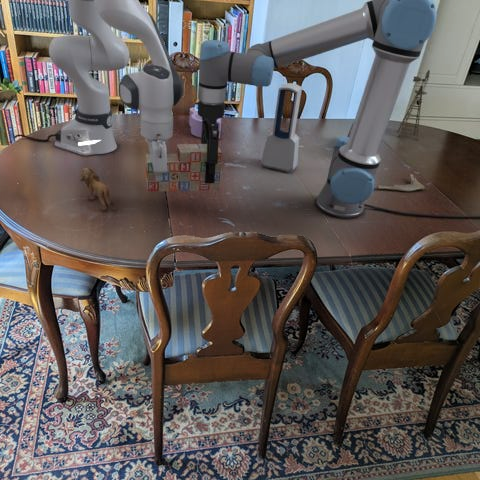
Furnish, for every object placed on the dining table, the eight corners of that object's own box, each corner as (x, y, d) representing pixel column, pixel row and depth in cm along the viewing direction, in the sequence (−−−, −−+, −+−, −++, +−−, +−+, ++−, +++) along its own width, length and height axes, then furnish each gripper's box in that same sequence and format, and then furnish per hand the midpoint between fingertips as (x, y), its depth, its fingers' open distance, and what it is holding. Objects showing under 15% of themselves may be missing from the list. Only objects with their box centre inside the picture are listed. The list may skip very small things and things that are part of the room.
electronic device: (296, 166, 177) (310, 86, 161) (292, 174, 171) (306, 91, 154) (265, 160, 180) (276, 80, 163) (259, 167, 174) (270, 85, 157)
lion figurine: (77, 195, 143) (74, 168, 138) (92, 190, 146) (90, 163, 142) (107, 213, 136) (105, 185, 131) (122, 207, 139) (120, 180, 134)
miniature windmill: (417, 139, 216) (437, 73, 200) (398, 137, 217) (417, 70, 201) (414, 133, 223) (434, 68, 207) (397, 130, 224) (415, 66, 208)
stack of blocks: (147, 192, 135) (146, 152, 129) (145, 182, 140) (145, 143, 134) (219, 190, 140) (222, 151, 134) (215, 180, 146) (218, 143, 139)
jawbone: (429, 189, 172) (431, 184, 171) (394, 201, 161) (396, 196, 160) (410, 177, 177) (412, 172, 176) (375, 189, 167) (376, 184, 165)
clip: (182, 123, 206) (183, 107, 202) (209, 122, 210) (210, 106, 207) (197, 140, 191) (197, 123, 187) (225, 138, 195) (226, 122, 191)
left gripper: (172, 142, 121) (172, 190, 129) (164, 116, 138) (164, 160, 145) (148, 143, 120) (149, 191, 127) (142, 116, 136) (143, 160, 144)
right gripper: (232, 112, 121) (226, 191, 134) (218, 91, 137) (213, 164, 149) (204, 112, 120) (200, 192, 132) (192, 91, 135) (190, 164, 148)
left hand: (157, 174), depth 136 cm, fingers closed on stack of blocks, 6 cm apart
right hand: (207, 177), depth 141 cm, fingers closed on stack of blocks, 6 cm apart
